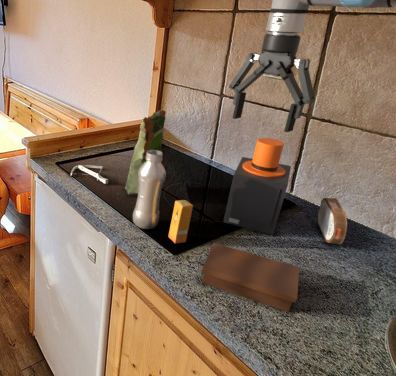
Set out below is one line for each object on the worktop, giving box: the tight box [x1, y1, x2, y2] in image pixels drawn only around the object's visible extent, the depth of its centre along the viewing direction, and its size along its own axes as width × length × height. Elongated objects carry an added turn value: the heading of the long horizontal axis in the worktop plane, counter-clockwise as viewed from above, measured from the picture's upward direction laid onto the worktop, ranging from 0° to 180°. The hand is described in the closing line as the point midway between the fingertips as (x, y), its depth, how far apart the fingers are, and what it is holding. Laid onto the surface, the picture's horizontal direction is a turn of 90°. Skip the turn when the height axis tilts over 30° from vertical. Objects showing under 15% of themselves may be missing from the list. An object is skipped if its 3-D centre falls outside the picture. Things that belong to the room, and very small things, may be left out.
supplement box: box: [168, 199, 194, 244], centre depth 96 cm, size 3×3×10 cm
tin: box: [317, 197, 348, 246], centre depth 100 cm, size 15×3×8 cm, turn 161°
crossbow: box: [70, 164, 109, 185], centre depth 132 cm, size 16×13×2 cm
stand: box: [201, 242, 300, 313], centre depth 83 cm, size 17×11×4 cm, turn 60°
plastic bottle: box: [132, 150, 167, 230], centre depth 99 cm, size 6×7×20 cm
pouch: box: [124, 109, 167, 196], centre depth 116 cm, size 11×12×25 cm
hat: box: [243, 137, 286, 177], centre depth 102 cm, size 10×10×8 cm
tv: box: [223, 156, 292, 236], centre depth 106 cm, size 12×14×14 cm
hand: (261, 124), depth 101 cm, fingers open, 13 cm apart
